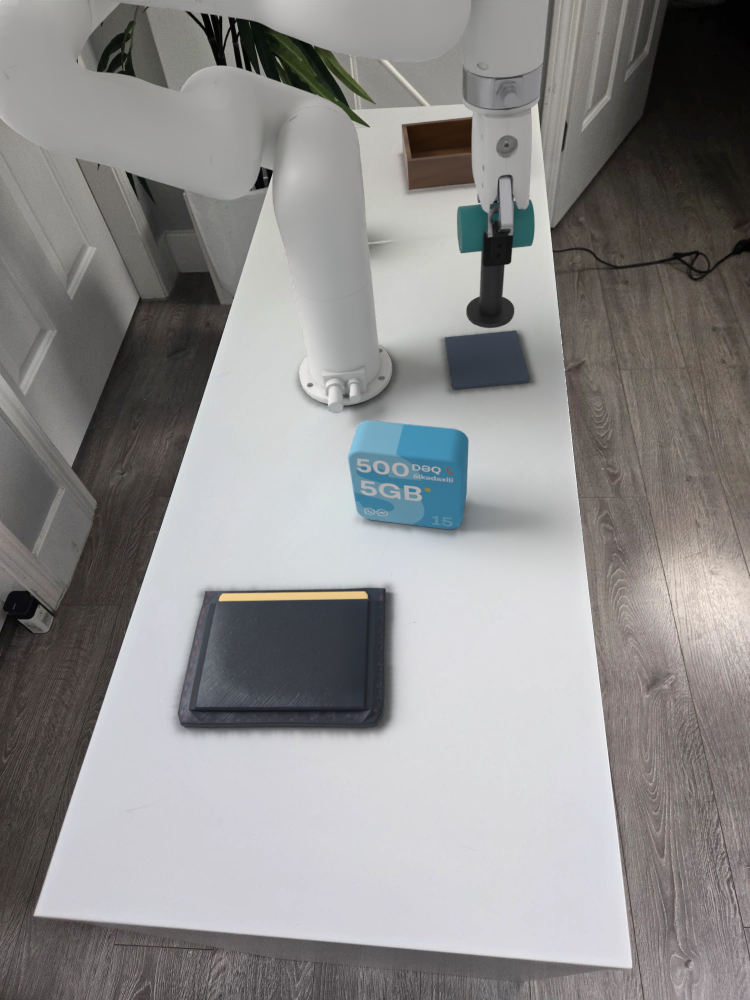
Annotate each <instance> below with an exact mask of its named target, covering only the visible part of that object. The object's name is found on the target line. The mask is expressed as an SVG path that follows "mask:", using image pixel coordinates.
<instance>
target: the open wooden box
mask: <svg viewBox="0 0 750 1000" xmlns="http://www.w3.org/2000/svg"><path fill="white" fill-rule="evenodd" d="M472 117H473V116H465V117H458V118H457V117H456V118H447V119H438V120H430V121H429V120H428V121H420V122H419V121H418V122H411V123H402V124H401V142H402V143H401V144H402V154H403V155H402V156H403V162H404V168H405V176H406V181H407V189H408V190H409V191H413V190H420V189H421V190H422V189H428V188H429V189H430V188H431V189H432V188H441V187H451V186H460V185H467V184H469V185H470V184H475V181H474V177H473V170H472Z"/></svg>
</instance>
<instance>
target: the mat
mask: <svg viewBox="0 0 750 1000" xmlns="http://www.w3.org/2000/svg"><path fill="white" fill-rule="evenodd" d="M444 344H445V350H446V357H447V362H448V368H449V374H450V380H451V385H452V390H453V391H454V390H464V389H475V388H476V389H477V388H487V387H497V386H505V385H508V386H509V385H517V384H518V385H519V384H528V383H530V380H531V379H530V375H529V371H528V368H527V364H526V360H525V357H524V353H523V350H522V346H521V342H520V339H519V335H518V331H517V330H516V329H515V330H505V331H496V332H495V331H494V332H485V333H476V334H475V333H474V334H466V335H454V336H445V337H444Z"/></svg>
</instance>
